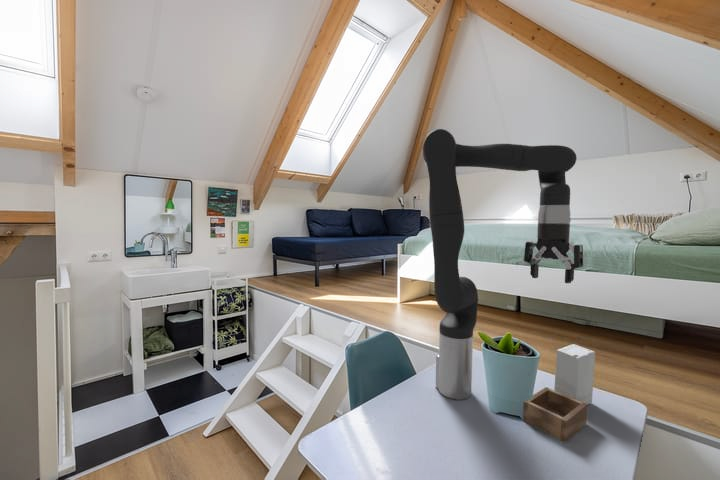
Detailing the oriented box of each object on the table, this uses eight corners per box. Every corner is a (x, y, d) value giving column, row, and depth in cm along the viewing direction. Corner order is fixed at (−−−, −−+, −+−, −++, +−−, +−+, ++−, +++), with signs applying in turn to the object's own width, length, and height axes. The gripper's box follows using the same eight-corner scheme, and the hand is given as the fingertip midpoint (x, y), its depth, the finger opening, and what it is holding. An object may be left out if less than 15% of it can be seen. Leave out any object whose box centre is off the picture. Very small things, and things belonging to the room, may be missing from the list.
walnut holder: (522, 420, 78) (523, 401, 77) (545, 405, 84) (546, 387, 84) (565, 442, 70) (566, 421, 69) (586, 424, 76) (587, 404, 76)
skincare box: (570, 393, 90) (572, 342, 89) (593, 404, 85) (596, 350, 84) (552, 400, 86) (554, 348, 85) (575, 412, 81) (578, 356, 80)
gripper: (520, 221, 89) (518, 277, 91) (577, 222, 78) (574, 286, 79) (533, 221, 94) (531, 275, 95) (589, 222, 82) (586, 283, 83)
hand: (550, 280), depth 87 cm, fingers open, 8 cm apart
